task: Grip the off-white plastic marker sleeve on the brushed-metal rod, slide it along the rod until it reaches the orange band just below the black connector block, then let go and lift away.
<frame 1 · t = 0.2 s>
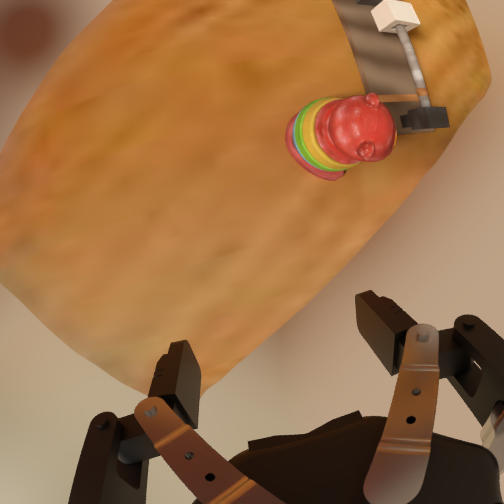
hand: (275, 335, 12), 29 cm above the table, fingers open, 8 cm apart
grey slider rail toy: (385, 61, 34), on the table
marker sleeve: (395, 16, 25), point 7 cm above the table, slide at 0.0 cm
stacking bear: (317, 139, 38), on the table
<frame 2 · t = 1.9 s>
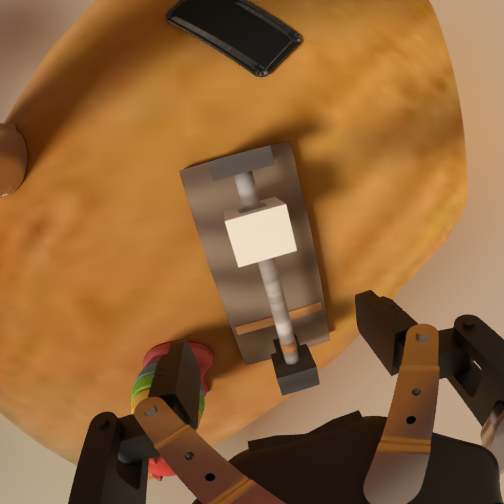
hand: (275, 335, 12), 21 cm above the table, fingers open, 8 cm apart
grey slider rail toy: (263, 263, 33), on the table
phone: (232, 26, 25), on the table
marker sleeve: (258, 229, 25), point 7 cm above the table, slide at 0.0 cm
stacking bear: (176, 367, 37), on the table
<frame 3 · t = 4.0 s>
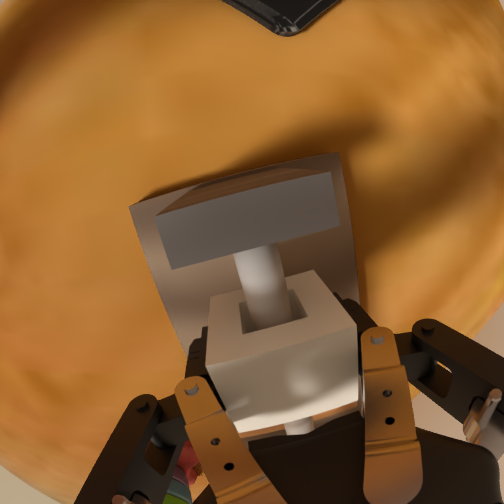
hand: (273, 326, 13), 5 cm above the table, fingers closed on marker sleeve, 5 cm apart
grey slider rail toy: (278, 353, 20), on the table
marker sleeve: (280, 348, 11), point 7 cm above the table, slide at 0.0 cm, touching gripper
stacking bear: (156, 454, 24), on the table
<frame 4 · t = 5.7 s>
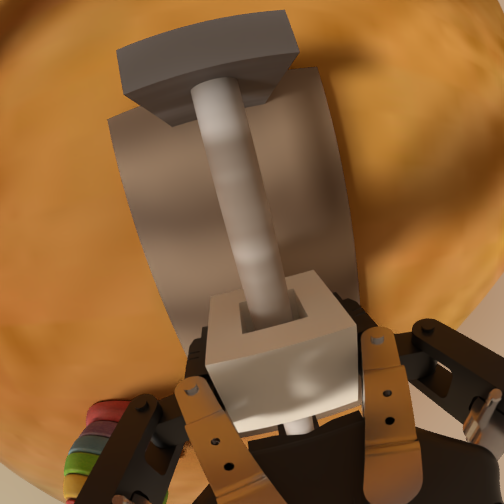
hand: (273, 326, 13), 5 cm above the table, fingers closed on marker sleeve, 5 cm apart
grey slider rail toy: (263, 293, 18), on the table
marker sleeve: (280, 348, 11), point 7 cm above the table, slide at 5.2 cm, touching gripper
stacking bear: (132, 428, 22), on the table
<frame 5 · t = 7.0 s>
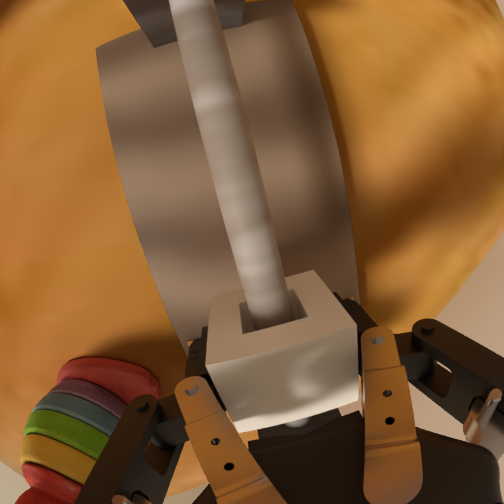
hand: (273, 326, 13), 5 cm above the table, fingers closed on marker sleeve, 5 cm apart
grey slider rail toy: (243, 217, 17), on the table
marker sleeve: (280, 348, 11), point 7 cm above the table, slide at 10.4 cm, touching gripper
stacking bear: (106, 395, 20), on the table
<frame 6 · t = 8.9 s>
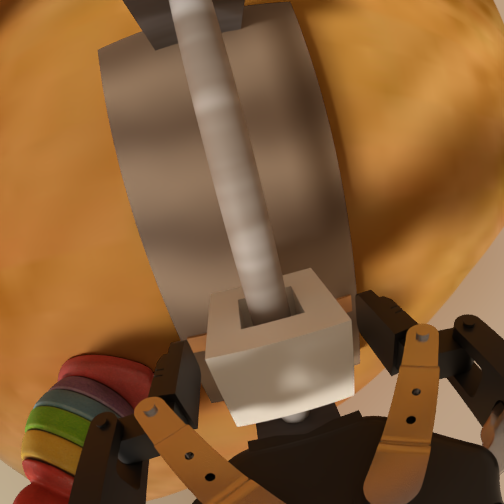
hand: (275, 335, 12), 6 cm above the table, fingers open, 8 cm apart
grey slider rail toy: (242, 216, 17), on the table
marker sleeve: (278, 344, 12), point 7 cm above the table, slide at 10.4 cm
stacking bear: (107, 392, 21), on the table
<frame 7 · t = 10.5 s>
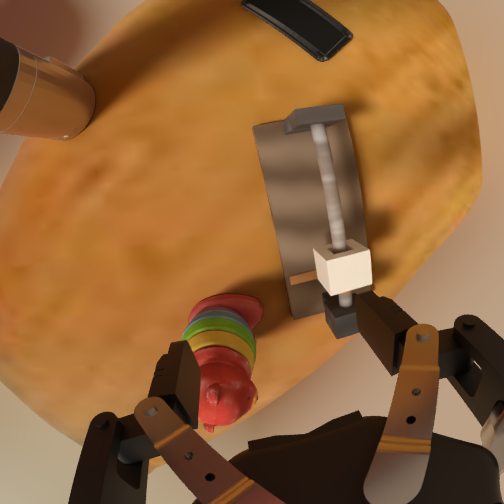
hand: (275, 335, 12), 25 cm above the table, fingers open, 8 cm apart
grey slider rail toy: (318, 217, 36), on the table
phone: (296, 19, 29), on the table
marker sleeve: (342, 265, 31), point 7 cm above the table, slide at 10.4 cm
stacking bear: (222, 323, 40), on the table
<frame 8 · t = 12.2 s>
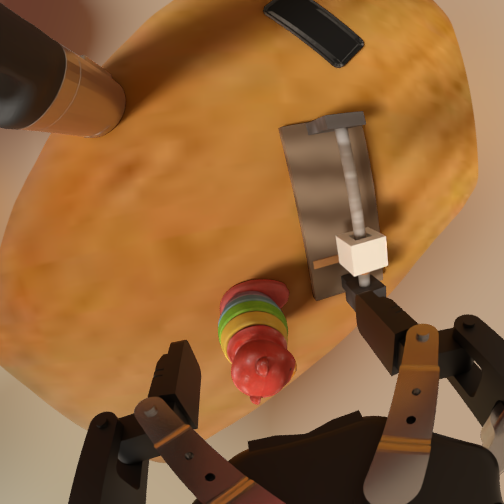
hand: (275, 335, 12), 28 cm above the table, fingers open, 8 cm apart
grey slider rail toy: (337, 208, 40), on the table
phone: (313, 27, 31), on the table
marker sleeve: (361, 250, 35), point 7 cm above the table, slide at 10.4 cm
stacking bear: (251, 307, 44), on the table
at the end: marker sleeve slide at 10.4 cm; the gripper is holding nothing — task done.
